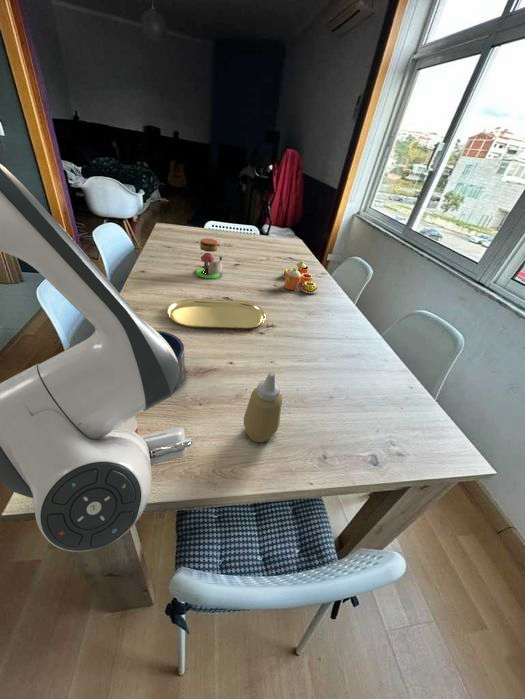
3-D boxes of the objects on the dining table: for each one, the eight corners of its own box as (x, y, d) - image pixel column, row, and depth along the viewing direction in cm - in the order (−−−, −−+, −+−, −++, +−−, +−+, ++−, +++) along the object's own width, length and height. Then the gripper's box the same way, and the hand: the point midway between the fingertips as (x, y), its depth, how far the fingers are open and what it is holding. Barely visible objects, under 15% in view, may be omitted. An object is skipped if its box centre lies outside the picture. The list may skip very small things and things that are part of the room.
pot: (126, 408, 67) (120, 379, 62) (110, 365, 78) (104, 337, 73) (194, 387, 76) (194, 360, 71) (172, 351, 86) (170, 325, 81)
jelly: (113, 470, 55) (105, 444, 51) (107, 447, 59) (99, 420, 54) (145, 458, 58) (140, 432, 54) (137, 436, 62) (132, 410, 57)
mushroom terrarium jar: (190, 277, 129) (190, 242, 120) (199, 267, 139) (199, 235, 130) (217, 282, 129) (219, 248, 120) (223, 271, 139) (225, 239, 130)
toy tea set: (317, 296, 132) (323, 276, 126) (284, 292, 130) (288, 271, 125) (308, 273, 153) (313, 255, 147) (279, 270, 151) (282, 251, 146)
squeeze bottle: (262, 413, 72) (275, 356, 61) (283, 437, 67) (300, 379, 57) (235, 426, 68) (243, 367, 57) (255, 453, 63) (267, 394, 52)
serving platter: (169, 301, 110) (169, 297, 109) (261, 305, 117) (261, 302, 116) (165, 328, 95) (164, 324, 94) (269, 331, 102) (270, 328, 102)
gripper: (191, 421, 42) (180, 415, 54) (13, 461, 34) (48, 443, 46) (198, 466, 41) (185, 449, 54) (18, 517, 33) (53, 483, 46)
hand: (121, 447), depth 50 cm, fingers open, 8 cm apart
